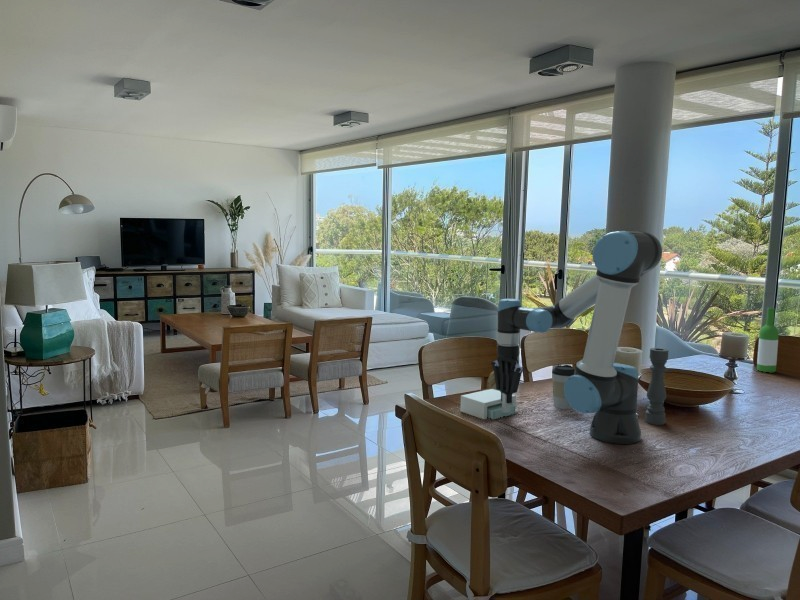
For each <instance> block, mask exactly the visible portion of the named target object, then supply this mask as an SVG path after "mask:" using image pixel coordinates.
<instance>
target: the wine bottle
mask: <svg viewBox="0 0 800 600" xmlns="http://www.w3.org/2000/svg"><path fill="white" fill-rule="evenodd" d="M766 309H767V311H766V320H765V322H766V323H765V325H763V326H762V327H761V328H760V330H759V336H758V345H757V347H758V348H757V360H756V369H757V371H758V370H759V371H758V372H761V371H763V372H762V373H766V372H769V373H768V374H770V373H771V374H772V373H775V372H776V371H777V361H778V347H779V336H780V335H779V333H780V332H779V329H778V328H777V327H776V326H775V325H774V322H775V308H774V307H767V308H766Z"/></svg>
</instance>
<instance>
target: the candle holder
mask: <svg viewBox="0 0 800 600" xmlns="http://www.w3.org/2000/svg"><path fill="white" fill-rule="evenodd" d="M649 359H650V362H651V365H650V366H649V369H650V370H651V375H650V376H651V379H650V381H649V385H648V388H647V391H646V398H647V399H648V402H649V404H648V405H647V406H646V410H645V418H644V421H645V422H646V423H647V424H649V425H656V426H662V425H665V423H666V413H665V411H666V409H665V407H664V406H663V405H664V402H665V400H666V399H667V391H666V385H665V381H664V379H665V372H666V371H667V367H666V364H667V362H668V360H669V349H667V348H661V347H651V348H649Z"/></svg>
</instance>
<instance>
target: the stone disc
mask: <svg viewBox="0 0 800 600" xmlns="http://www.w3.org/2000/svg"><path fill="white" fill-rule="evenodd" d="M499 386H500V385H499ZM489 389H494V390H497V389H496V383H495V376H494V370H493V371H492V372H490V373H489V376H488V378H487V383H486V390H489ZM498 391H500V390H498Z"/></svg>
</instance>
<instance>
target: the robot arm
mask: <svg viewBox="0 0 800 600" xmlns="http://www.w3.org/2000/svg"><path fill="white" fill-rule="evenodd" d="M662 256H663V247H662V244H661V241H660V240H659V238H657V237H656V236H655V235H654V234H652V233H650V232H647V231H631V230H630V231H629V230H628V231H627V230H616V231H612V232H611V231H610V232H608V233H606V234H604V235H602V236H601V237H600V238H599V239H598V240H597V241H596V243H595V245H594V247H593V250H592V261H593V262H594V266H595V268H596V272H595V273H596V274H594V275H592V276H591V277H590V278H588V279H587V280H586V281H584V282H583V283H582V284H581V285H579V286H577V287H576V288H575V289H574V290H572V291H570V293H568V294H566V296H564V297H562V298H561V299H560V300H559V301H557V302H556V303H555V304H553V305H550V306H540V307H527V306H522V304H521V300H520V299H518V298H517V299H516V298H502V299H500V300H499V301H498V305H497V331H496V332H497V333H496V334H497V335H496V344H497V345H496V355H497V358H496V360H494V361H492V362H491V367H492V368H493V371H494V376H495V383H496V389H497V390H500V392H501V401H502V412H504V413H506V412H510V403H512V395H514V394H516V393H518V391H519V390H518V389H519V386H520V381H521V377H522V374H523V372H524V371H525V368H524V366H521V365H520V364H519V359H518V357H519V356H520V345H519V344H520V333H521V331H522V330H523V331H528V332H532V333H543V334H544V333H547V332H548V331H549V330H550V329H551V330H553V329H558V328H559V329H560V328H561V329H562V328H565V327H568V326H570V325H572V324H573V323H574V321H575V319H576V318H577V317H578V316H579V315H581V314H583V313H584V312H586V311H587V310H588V309H590V308H591V307H593V306H594V309H593V313H592V316H591V317H592V318H591V321H590V326H589V331H588V334H587V339H586V344H585V348H584V353H583V358H582V359H580V360H579V361H577V362H576V365H575V367H574V368H575V373H574V375H572V376H570V377H569V378H568V379H567V380H566V382H565V384H564V395H565V398H566V400H567V401H568V403H569V405H570V406H571V407H572V409H573V410H574V411H575V412H577V413H580V414H585V415H586V414H594V415H593V419H592V420H591V421H592V422H591V423H590V426H589V434H590V436H591V437H592V438H594V439H595V440H599V441H601V442H605V443H610V444H617V445H619V444H620V445H630V444H636V443H639V442H641V439H642V431H641V428H640V424H639V420H638V416H637V406H638V405H637V404H638V388H639V380H640V379H639V371H638V369H637V368H636V366H632V365H628V364H622V363H619V362H615V359H616V354H617V352H618V351H617V350H618V347H619V344H620V339H621V333H622V330H623V325H624V322H625V321H624V320H625V318H626V317H625V316H626V312H627V308H628V304H629V301H630V295H631V291H632V288H633V287H635V286H637V285H639V283H640V278H642V277H643V276H645V275H646V274H648V273H650V272H651V271H652V270H654V269H655V268H656V267H657V266H658V265H659V263H660V261H661V259H662V258H663V257H662ZM499 385H500V386H499Z"/></svg>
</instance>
